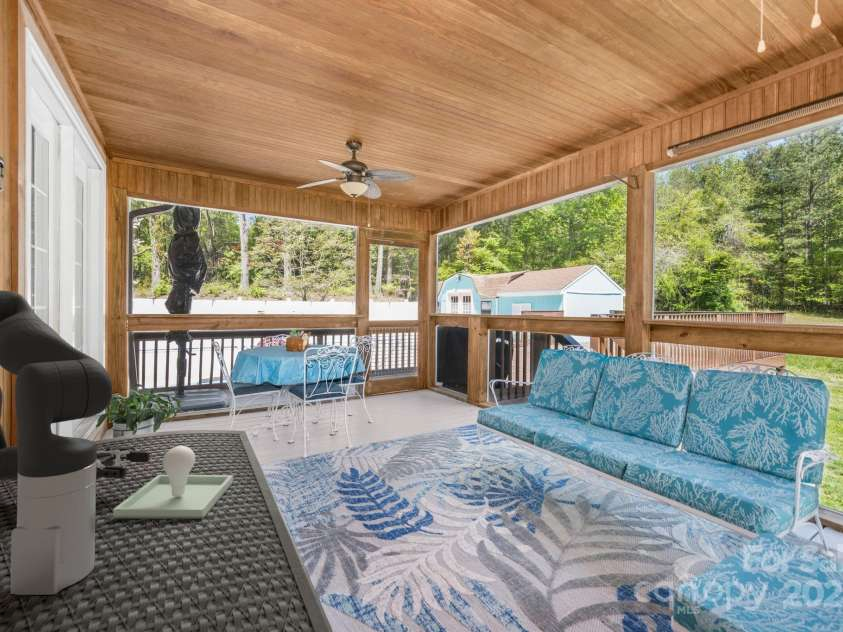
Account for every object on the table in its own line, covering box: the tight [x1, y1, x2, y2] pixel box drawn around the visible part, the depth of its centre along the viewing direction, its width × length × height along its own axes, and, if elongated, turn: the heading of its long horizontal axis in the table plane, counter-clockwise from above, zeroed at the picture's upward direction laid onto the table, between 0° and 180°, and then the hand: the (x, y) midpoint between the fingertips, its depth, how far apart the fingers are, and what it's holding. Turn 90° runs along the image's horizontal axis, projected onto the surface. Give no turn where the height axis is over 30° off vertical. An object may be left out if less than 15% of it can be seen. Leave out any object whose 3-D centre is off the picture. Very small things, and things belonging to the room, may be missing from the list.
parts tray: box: [112, 474, 234, 520], centre depth 93 cm, size 17×17×2 cm
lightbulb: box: [162, 445, 196, 498], centre depth 93 cm, size 6×6×11 cm
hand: (137, 464), depth 92 cm, fingers open, 8 cm apart
